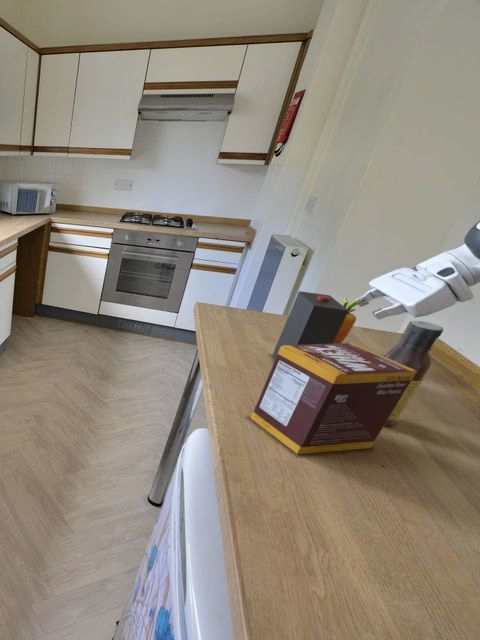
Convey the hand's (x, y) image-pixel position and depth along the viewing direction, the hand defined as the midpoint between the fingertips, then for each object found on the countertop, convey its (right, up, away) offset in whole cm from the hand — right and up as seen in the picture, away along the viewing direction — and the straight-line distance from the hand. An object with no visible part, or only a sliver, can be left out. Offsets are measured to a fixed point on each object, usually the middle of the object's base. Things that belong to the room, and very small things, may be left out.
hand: (365, 309), depth 98 cm
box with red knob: (-13, -15, -3) cm, 20 cm away
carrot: (-3, -11, +7) cm, 14 cm away
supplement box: (-34, -24, -24) cm, 48 cm away
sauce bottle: (-17, -23, -18) cm, 34 cm away
